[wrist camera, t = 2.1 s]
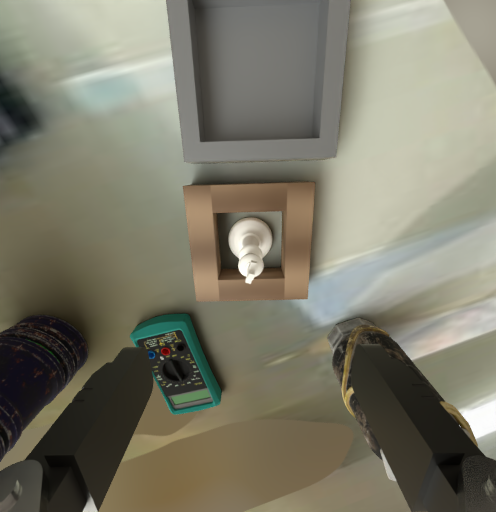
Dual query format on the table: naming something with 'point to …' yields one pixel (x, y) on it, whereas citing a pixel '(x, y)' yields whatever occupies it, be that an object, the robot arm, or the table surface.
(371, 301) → the table surface
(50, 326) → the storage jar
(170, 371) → the digital multimeter
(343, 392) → the lantern
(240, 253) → the chess piece
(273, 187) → the socket stand
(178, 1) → the parts tray
